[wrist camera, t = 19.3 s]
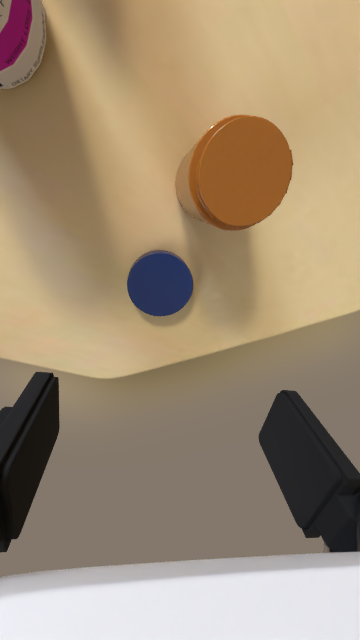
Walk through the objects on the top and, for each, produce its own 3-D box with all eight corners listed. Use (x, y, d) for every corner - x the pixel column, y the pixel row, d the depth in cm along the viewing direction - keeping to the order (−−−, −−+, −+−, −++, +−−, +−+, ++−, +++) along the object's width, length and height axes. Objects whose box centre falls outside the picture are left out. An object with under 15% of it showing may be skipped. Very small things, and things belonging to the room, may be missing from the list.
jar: (187, 230, 25) (209, 247, 16) (165, 159, 22) (176, 132, 13) (248, 207, 25) (304, 211, 16) (233, 132, 22) (291, 86, 13)
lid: (197, 256, 26) (200, 259, 25) (184, 313, 29) (186, 319, 28) (131, 244, 25) (130, 247, 24) (125, 306, 28) (124, 312, 26)
